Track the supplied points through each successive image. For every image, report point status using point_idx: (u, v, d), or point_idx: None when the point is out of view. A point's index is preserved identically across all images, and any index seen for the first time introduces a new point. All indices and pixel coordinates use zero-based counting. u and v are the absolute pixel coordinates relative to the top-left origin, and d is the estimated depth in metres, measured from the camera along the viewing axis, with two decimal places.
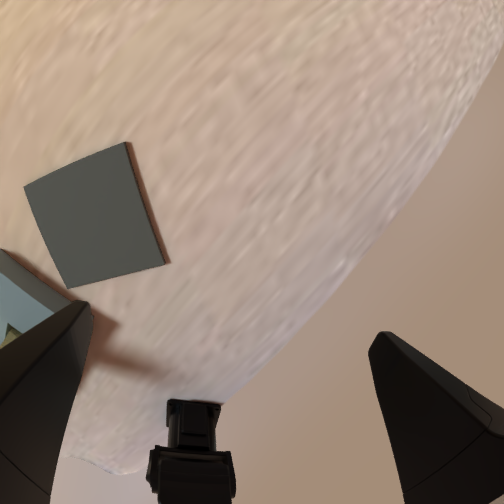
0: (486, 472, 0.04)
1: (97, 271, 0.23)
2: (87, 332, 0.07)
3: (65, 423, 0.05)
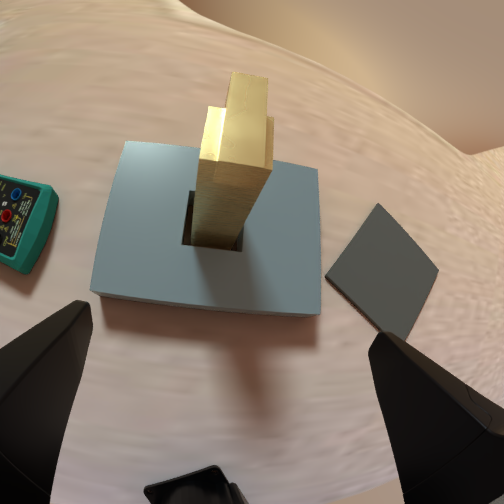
0: (486, 472, 0.04)
1: (363, 298, 0.24)
2: (87, 332, 0.07)
3: (65, 423, 0.05)
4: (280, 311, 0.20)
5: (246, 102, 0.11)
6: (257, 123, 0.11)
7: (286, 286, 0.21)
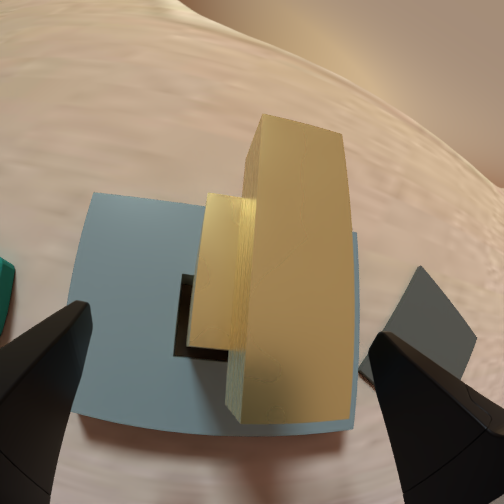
0: (486, 472, 0.04)
1: None
2: (87, 332, 0.07)
3: (65, 423, 0.05)
4: (305, 433, 0.14)
5: (304, 212, 0.05)
6: (335, 284, 0.04)
7: None
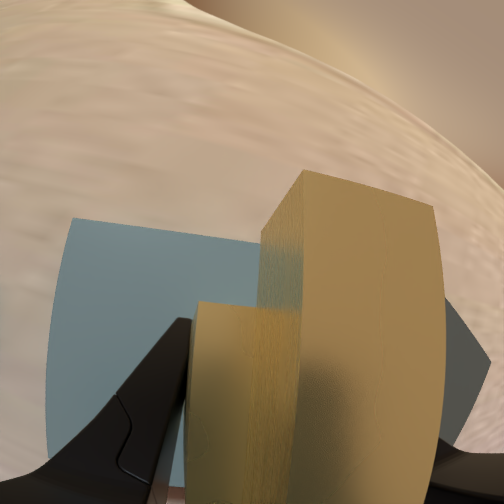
0: None
1: None
2: None
3: None
4: None
5: (381, 397, 0.02)
6: (406, 489, 0.02)
7: None
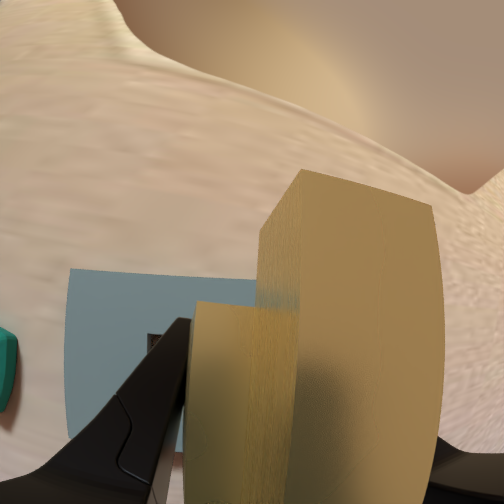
0: None
1: None
2: None
3: None
4: None
5: (380, 396, 0.02)
6: (405, 489, 0.02)
7: None
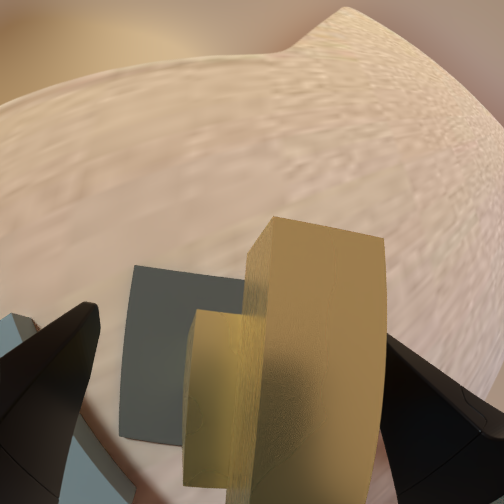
0: (481, 475, 0.03)
1: None
2: (95, 334, 0.07)
3: (73, 425, 0.05)
4: None
5: (326, 385, 0.03)
6: (352, 462, 0.03)
7: (75, 495, 0.09)
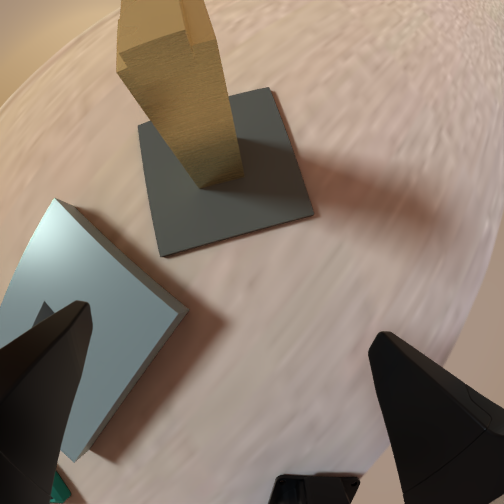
0: (486, 472, 0.04)
1: (215, 226, 0.18)
2: (87, 332, 0.07)
3: (65, 423, 0.05)
4: (149, 351, 0.16)
5: None
6: None
7: (129, 328, 0.16)
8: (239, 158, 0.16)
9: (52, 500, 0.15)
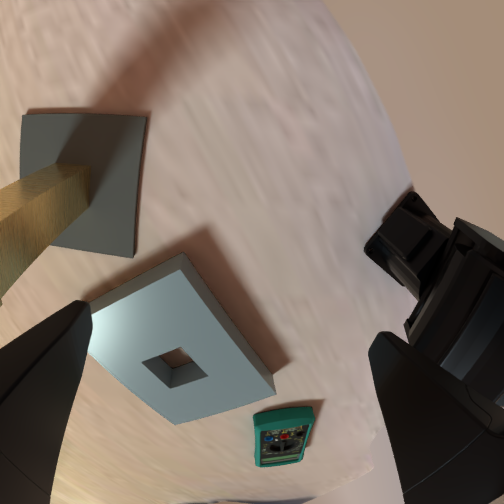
0: (486, 472, 0.04)
1: (123, 205, 0.19)
2: (87, 332, 0.07)
3: (65, 423, 0.05)
4: (202, 301, 0.20)
5: None
6: None
7: (179, 308, 0.20)
8: (71, 177, 0.14)
9: (310, 425, 0.31)
